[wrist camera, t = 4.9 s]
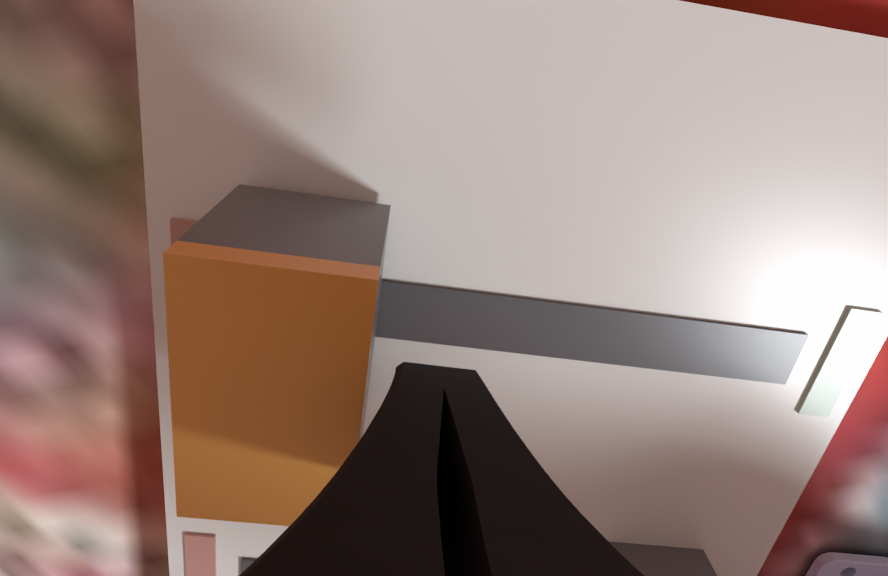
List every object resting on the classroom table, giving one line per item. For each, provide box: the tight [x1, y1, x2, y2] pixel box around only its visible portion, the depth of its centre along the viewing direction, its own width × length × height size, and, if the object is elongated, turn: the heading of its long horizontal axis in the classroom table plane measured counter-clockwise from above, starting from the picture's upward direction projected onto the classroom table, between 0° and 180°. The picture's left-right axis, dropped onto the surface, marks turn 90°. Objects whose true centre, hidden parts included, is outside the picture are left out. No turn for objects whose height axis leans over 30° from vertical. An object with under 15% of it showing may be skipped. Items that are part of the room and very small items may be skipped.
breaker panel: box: [133, 0, 888, 576], centre depth 14 cm, size 17×22×6 cm
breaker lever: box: [163, 184, 391, 526], centre depth 11 cm, size 3×5×4 cm, turn 171°
